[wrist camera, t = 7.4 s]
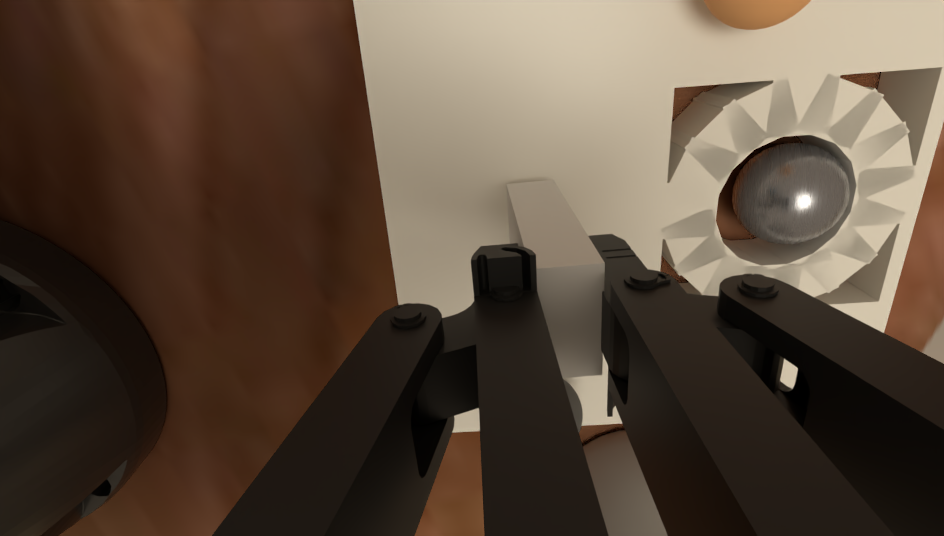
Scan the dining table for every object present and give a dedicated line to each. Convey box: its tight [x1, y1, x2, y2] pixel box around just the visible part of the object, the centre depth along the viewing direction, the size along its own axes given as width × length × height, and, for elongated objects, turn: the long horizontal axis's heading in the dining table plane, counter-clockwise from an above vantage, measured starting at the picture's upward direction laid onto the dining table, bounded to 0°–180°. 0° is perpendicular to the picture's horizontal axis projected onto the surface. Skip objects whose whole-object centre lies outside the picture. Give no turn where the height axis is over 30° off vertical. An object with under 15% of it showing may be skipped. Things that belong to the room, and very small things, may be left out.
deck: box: [353, 0, 944, 432], centre depth 19 cm, size 18×18×2 cm
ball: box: [732, 143, 850, 244], centre depth 18 cm, size 4×4×4 cm
